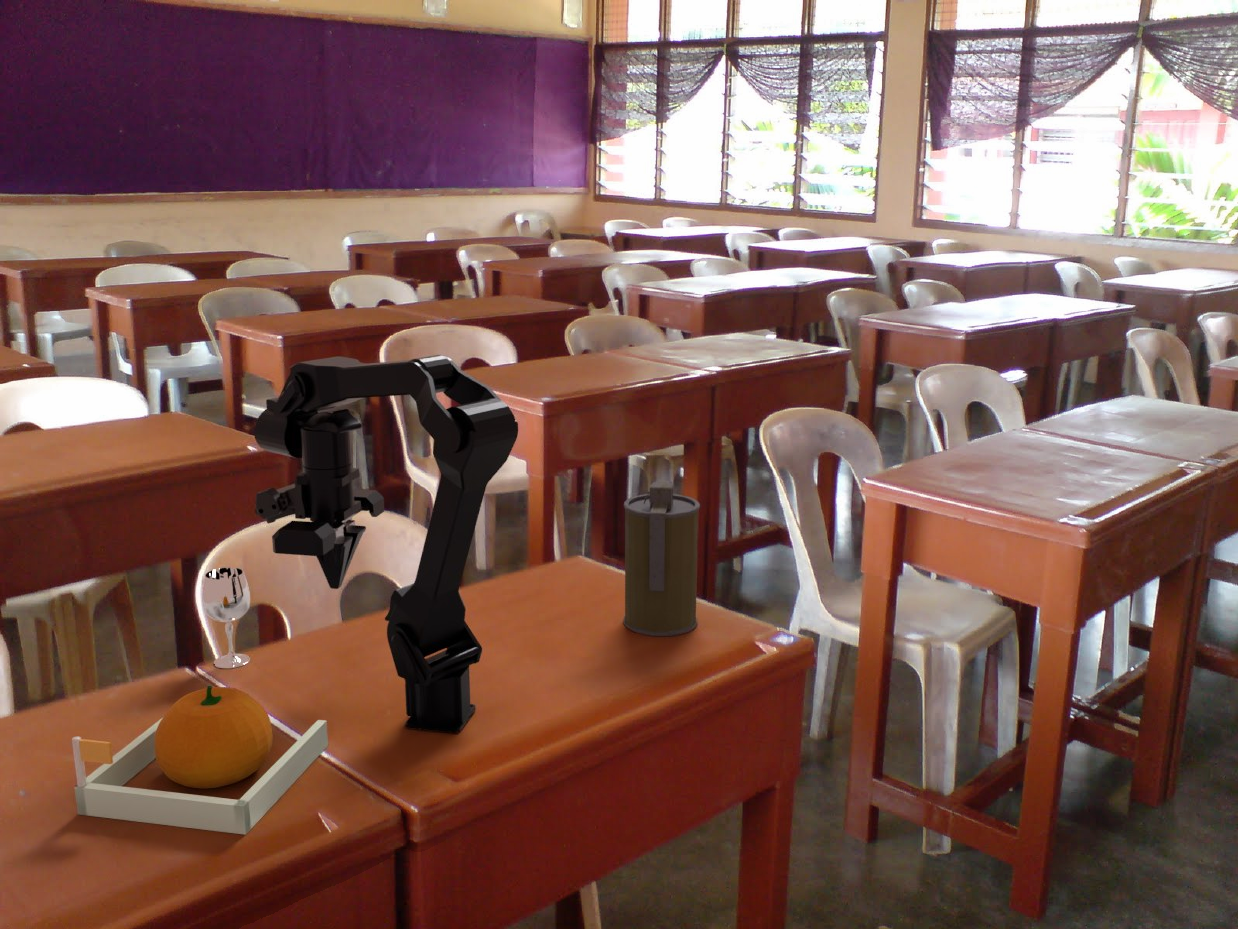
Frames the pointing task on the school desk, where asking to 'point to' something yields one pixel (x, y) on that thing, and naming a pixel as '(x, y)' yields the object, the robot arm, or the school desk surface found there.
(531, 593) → the school desk surface
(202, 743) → the fruit
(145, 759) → the corral
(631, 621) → the canister
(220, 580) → the wineglass
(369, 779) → the school desk surface
